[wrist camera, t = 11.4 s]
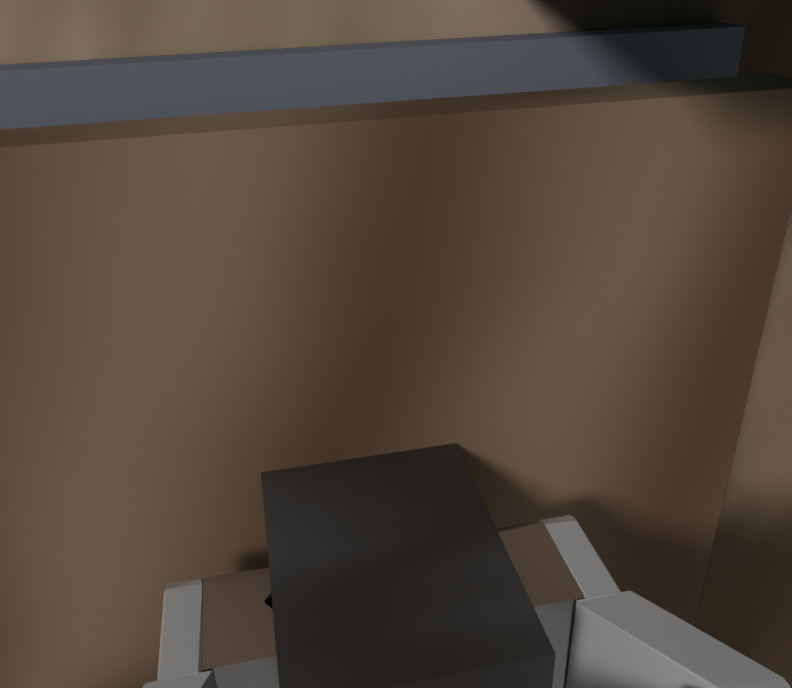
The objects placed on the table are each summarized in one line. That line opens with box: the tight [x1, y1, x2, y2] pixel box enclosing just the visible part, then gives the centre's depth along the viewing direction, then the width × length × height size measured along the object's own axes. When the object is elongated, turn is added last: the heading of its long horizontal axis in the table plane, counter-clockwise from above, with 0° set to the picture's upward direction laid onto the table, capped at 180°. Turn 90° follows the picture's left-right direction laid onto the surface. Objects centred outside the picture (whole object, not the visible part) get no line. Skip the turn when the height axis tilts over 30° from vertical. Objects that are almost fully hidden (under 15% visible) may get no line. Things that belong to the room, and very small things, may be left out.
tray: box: [0, 23, 746, 129], centre depth 15 cm, size 14×14×1 cm
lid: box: [0, 74, 792, 688], centre depth 11 cm, size 13×13×5 cm
